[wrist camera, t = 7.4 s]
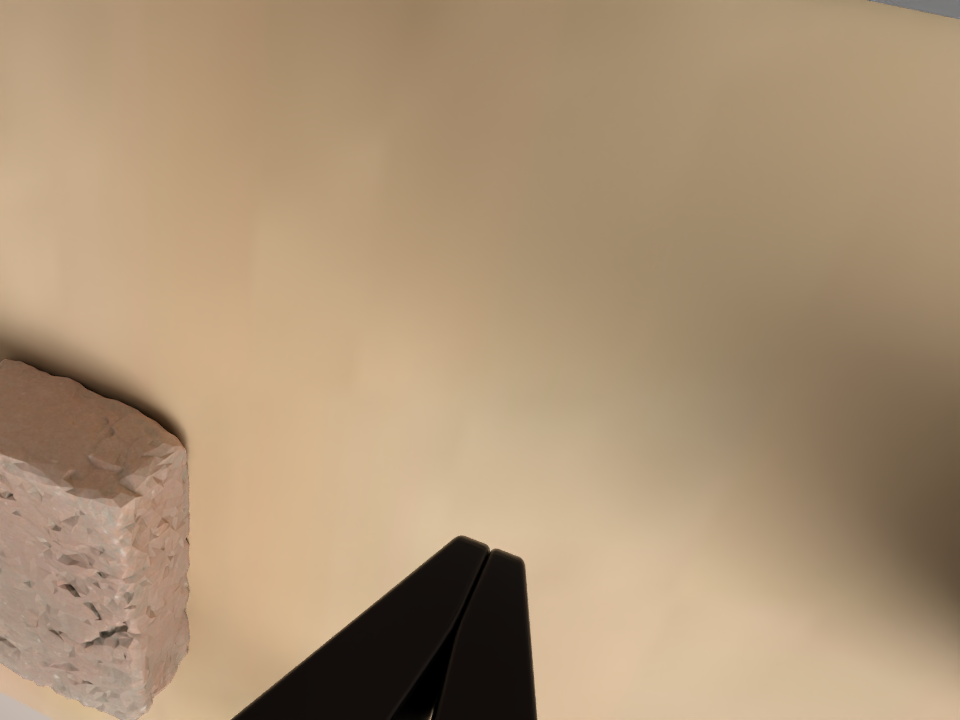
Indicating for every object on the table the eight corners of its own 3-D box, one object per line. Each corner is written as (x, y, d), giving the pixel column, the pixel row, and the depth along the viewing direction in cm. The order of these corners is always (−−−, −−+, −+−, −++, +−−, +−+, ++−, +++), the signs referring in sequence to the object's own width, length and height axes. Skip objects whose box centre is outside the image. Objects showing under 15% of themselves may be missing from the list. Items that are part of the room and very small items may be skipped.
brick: (196, 658, 37) (133, 746, 33) (53, 591, 37) (-25, 669, 34) (204, 419, 27) (115, 505, 23) (10, 337, 28) (-106, 406, 24)
